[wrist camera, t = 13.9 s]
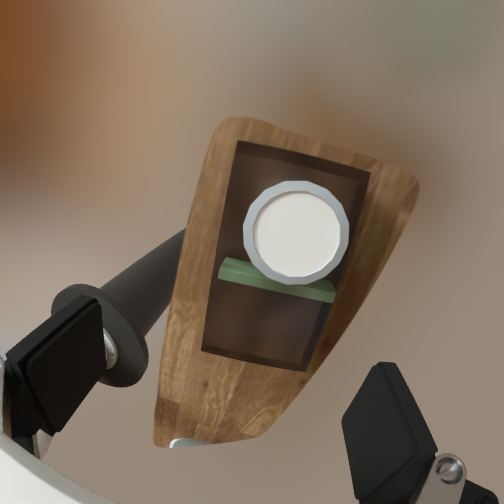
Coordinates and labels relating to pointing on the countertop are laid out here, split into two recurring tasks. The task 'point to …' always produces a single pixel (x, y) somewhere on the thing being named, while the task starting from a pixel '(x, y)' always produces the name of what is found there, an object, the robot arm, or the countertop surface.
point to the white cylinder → (296, 232)
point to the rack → (255, 282)
